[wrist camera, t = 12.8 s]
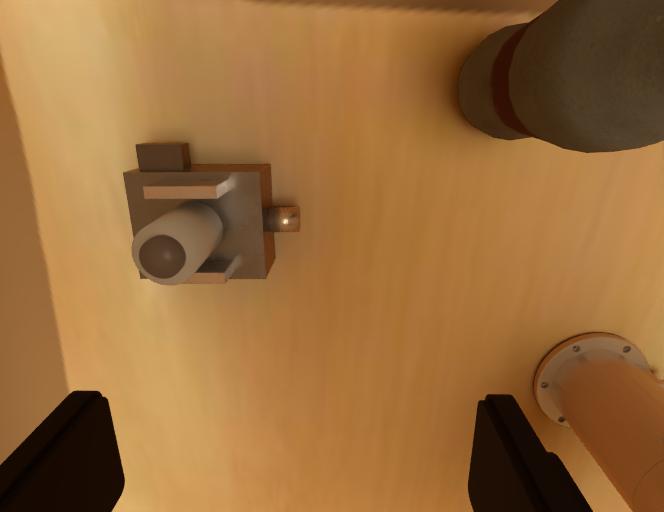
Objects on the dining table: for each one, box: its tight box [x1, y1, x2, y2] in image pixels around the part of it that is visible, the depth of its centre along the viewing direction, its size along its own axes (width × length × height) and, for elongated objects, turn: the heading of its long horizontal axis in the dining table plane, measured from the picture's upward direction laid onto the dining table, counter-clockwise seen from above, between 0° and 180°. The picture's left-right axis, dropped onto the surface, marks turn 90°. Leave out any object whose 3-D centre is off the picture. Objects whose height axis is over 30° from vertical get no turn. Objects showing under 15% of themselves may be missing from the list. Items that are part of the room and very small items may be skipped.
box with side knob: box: [123, 143, 300, 284], centre depth 39 cm, size 15×12×9 cm
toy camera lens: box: [132, 202, 223, 285], centre depth 35 cm, size 5×5×8 cm
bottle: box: [457, 0, 664, 153], centre depth 25 cm, size 9×9×30 cm
